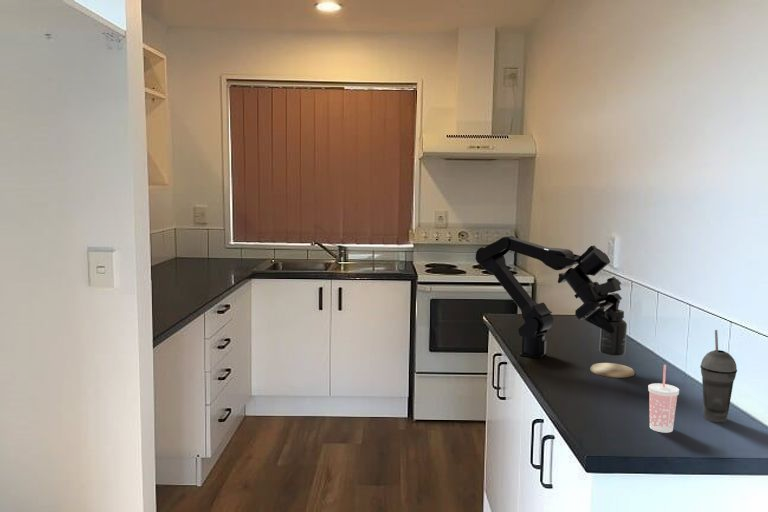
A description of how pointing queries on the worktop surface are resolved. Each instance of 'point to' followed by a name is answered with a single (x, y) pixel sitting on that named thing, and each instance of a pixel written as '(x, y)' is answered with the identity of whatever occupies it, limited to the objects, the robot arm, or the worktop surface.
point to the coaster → (612, 370)
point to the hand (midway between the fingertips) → (618, 330)
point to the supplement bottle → (614, 334)
